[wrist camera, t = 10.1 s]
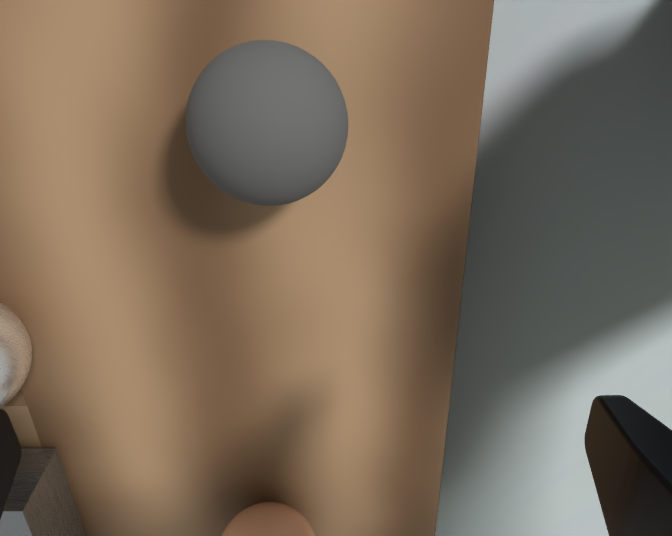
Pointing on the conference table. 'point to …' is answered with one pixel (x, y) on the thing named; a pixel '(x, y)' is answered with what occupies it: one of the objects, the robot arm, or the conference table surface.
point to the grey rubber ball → (267, 122)
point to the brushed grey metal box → (40, 498)
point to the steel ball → (13, 354)
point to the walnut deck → (237, 264)
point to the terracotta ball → (269, 521)
